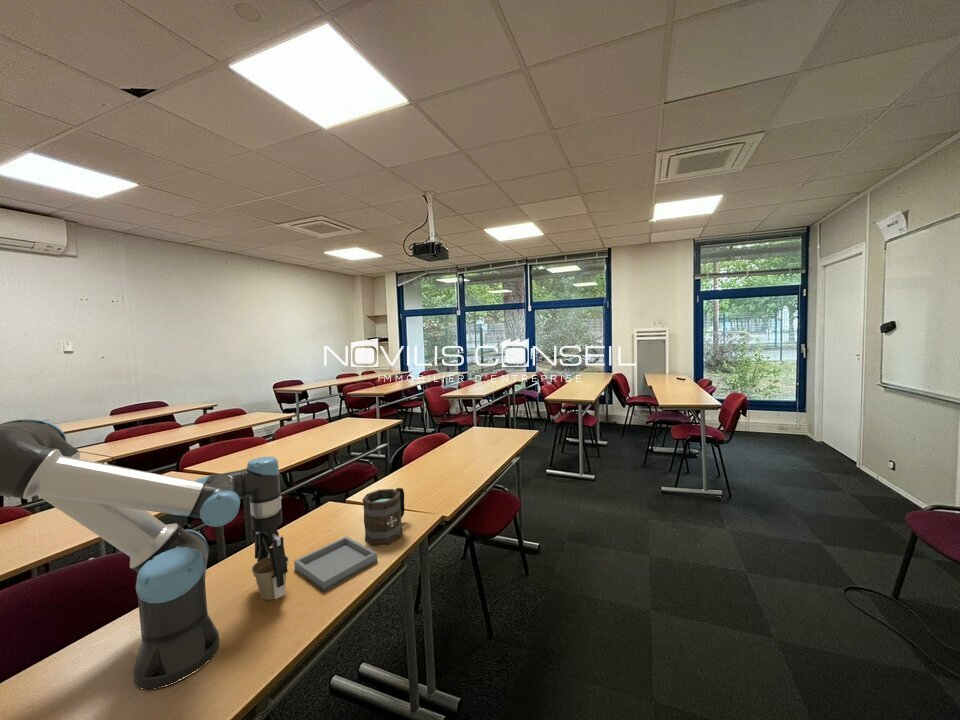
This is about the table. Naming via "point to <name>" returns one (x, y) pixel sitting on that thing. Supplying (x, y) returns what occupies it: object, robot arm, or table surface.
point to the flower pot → (265, 577)
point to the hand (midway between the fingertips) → (272, 589)
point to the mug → (383, 516)
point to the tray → (335, 563)
